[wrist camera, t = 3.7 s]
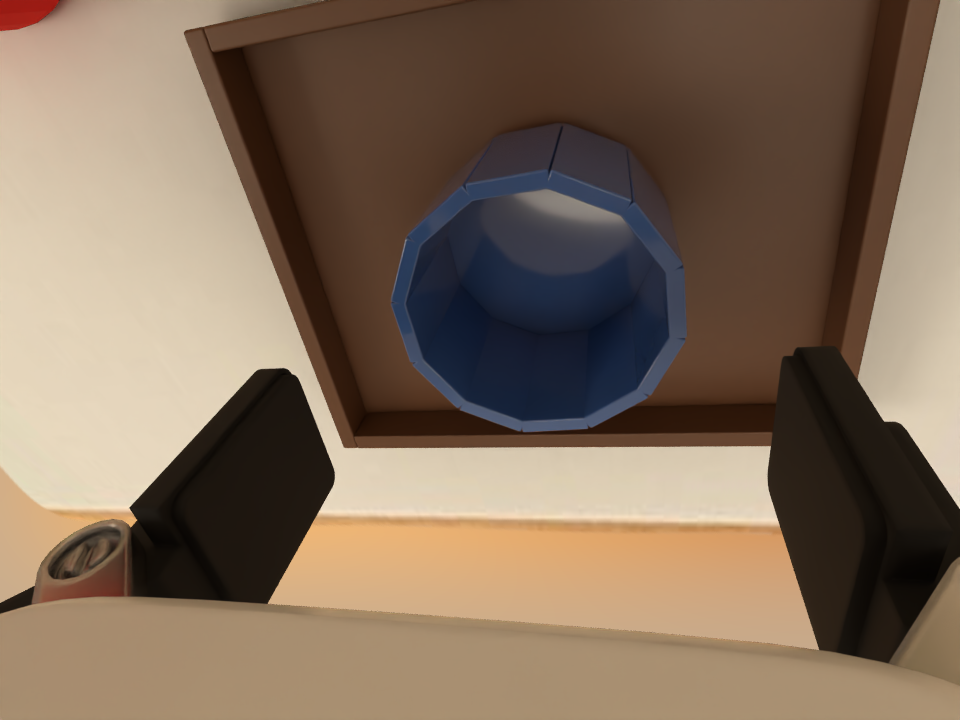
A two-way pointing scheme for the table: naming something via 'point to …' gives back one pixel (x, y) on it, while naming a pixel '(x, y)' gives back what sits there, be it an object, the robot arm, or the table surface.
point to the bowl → (544, 282)
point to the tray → (600, 110)
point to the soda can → (23, 12)
